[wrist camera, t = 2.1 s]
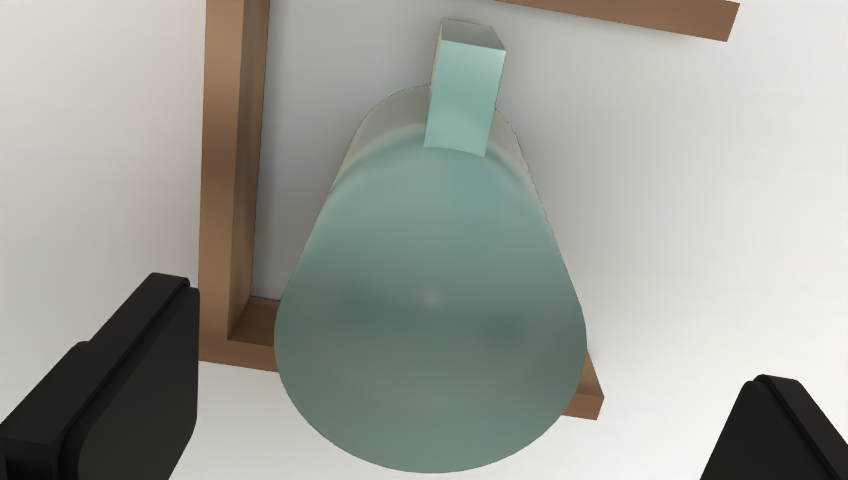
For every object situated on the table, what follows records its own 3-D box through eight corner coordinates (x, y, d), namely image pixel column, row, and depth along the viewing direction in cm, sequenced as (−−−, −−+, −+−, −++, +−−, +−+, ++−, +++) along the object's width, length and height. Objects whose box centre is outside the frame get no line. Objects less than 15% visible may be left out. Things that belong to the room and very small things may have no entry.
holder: (580, 369, 26) (596, 420, 23) (222, 314, 25) (195, 360, 23) (699, -6, 20) (739, 3, 17) (241, -89, 20) (209, -94, 17)
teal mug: (501, 263, 24) (544, 491, 14) (338, 237, 24) (263, 451, 14) (557, 29, 21) (666, 110, 11) (368, -5, 20) (298, 46, 10)
